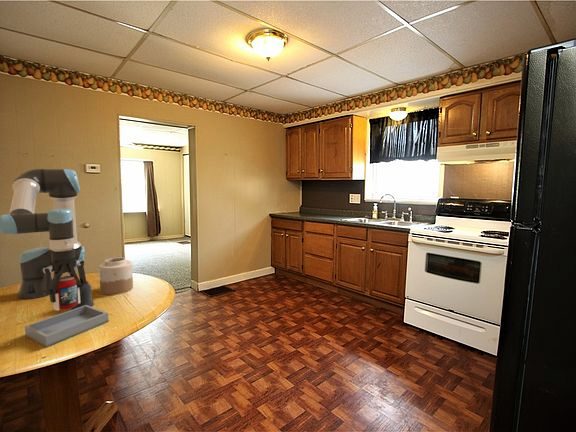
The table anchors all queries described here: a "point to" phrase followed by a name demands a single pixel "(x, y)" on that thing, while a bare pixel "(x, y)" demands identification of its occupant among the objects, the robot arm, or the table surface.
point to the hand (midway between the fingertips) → (67, 305)
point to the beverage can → (67, 292)
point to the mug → (85, 297)
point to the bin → (66, 325)
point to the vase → (115, 276)
